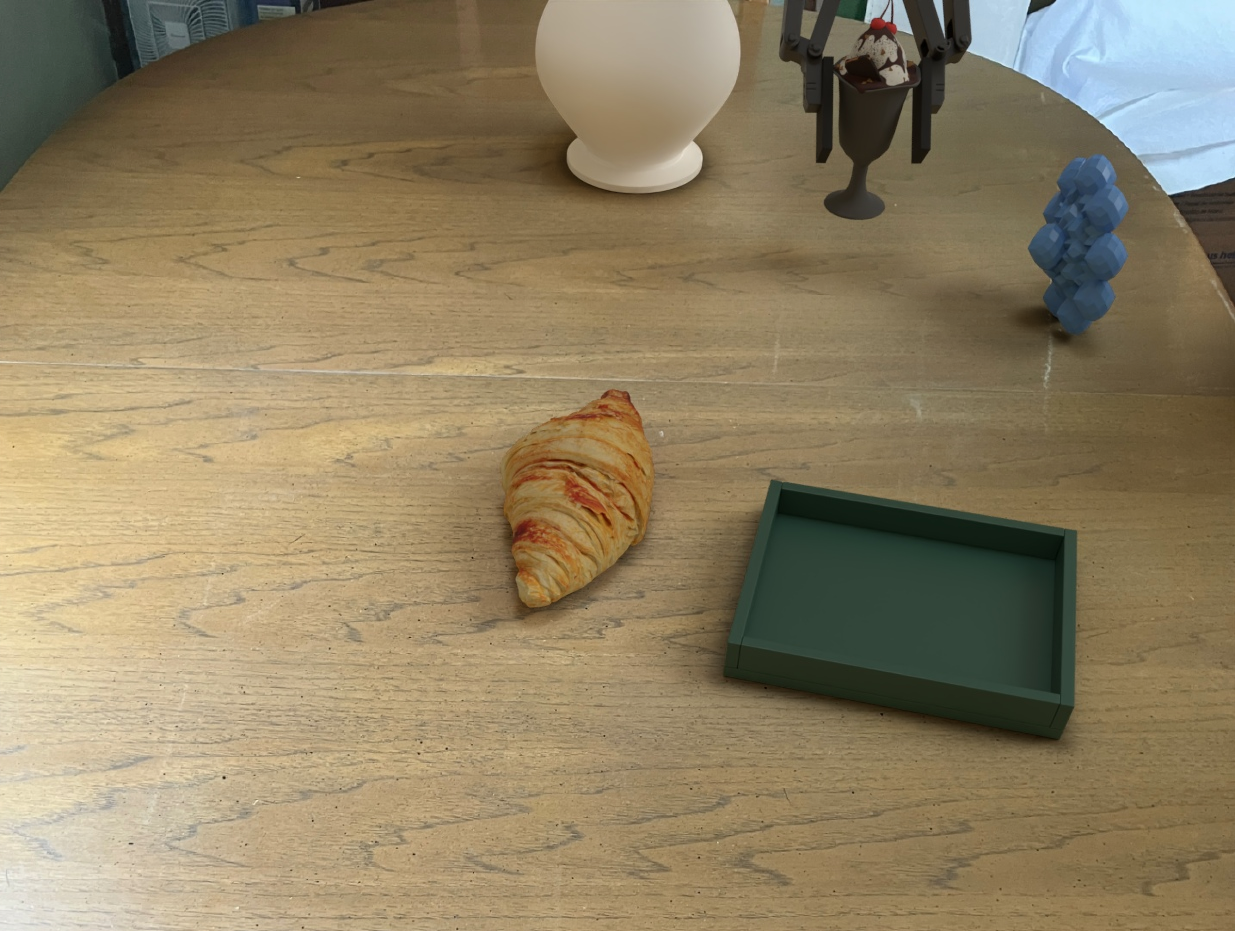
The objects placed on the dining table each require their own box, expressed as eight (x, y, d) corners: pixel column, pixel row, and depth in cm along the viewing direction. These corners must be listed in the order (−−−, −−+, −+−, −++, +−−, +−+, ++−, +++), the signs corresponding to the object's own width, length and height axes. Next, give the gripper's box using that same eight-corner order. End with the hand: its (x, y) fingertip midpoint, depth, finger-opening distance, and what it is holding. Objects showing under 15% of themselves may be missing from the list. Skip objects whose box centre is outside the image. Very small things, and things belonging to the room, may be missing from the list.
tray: (1064, 563, 80) (1077, 530, 78) (1059, 739, 70) (1075, 706, 68) (765, 513, 82) (770, 478, 80) (722, 675, 73) (726, 642, 71)
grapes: (983, 281, 102) (1024, 130, 92) (1062, 277, 102) (1109, 127, 93) (1030, 360, 95) (1079, 205, 85) (1114, 355, 95) (1172, 201, 86)
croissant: (578, 670, 78) (639, 599, 71) (436, 591, 75) (487, 510, 69) (651, 464, 90) (708, 389, 84) (532, 390, 88) (582, 307, 82)
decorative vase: (499, 155, 114) (481, -178, 95) (639, 102, 122) (649, -216, 102) (628, 228, 106) (638, -119, 87) (770, 166, 114) (808, -165, 94)
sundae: (872, 180, 102) (908, -26, 90) (909, 218, 98) (951, 8, 86) (799, 191, 101) (826, -17, 89) (833, 230, 97) (866, 18, 85)
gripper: (992, -138, 95) (984, 176, 97) (738, -141, 94) (737, 174, 96) (1027, -206, 87) (1018, 136, 89) (752, -209, 87) (749, 134, 89)
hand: (872, 155), depth 93 cm, fingers closed on sundae, 7 cm apart
